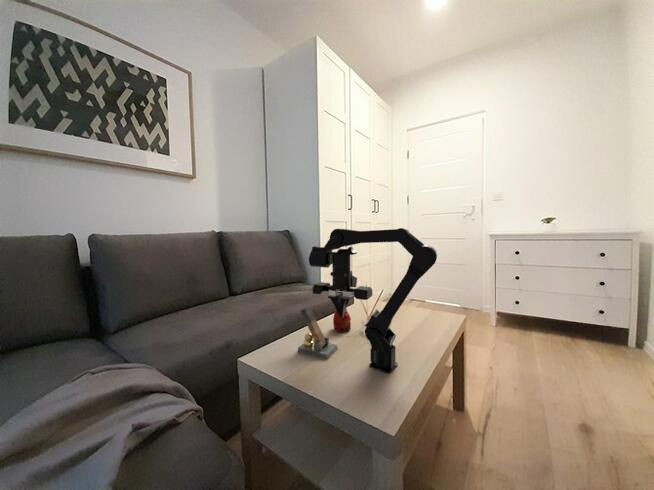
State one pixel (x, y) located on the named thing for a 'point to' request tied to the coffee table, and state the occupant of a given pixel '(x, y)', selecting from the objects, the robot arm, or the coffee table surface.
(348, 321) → the decorative doll
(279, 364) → the coffee table surface
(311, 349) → the base
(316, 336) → the lever
